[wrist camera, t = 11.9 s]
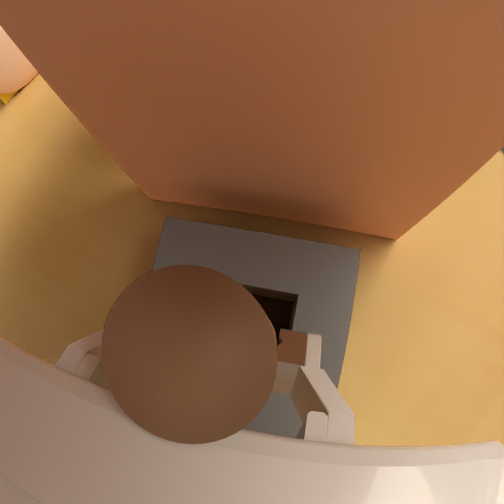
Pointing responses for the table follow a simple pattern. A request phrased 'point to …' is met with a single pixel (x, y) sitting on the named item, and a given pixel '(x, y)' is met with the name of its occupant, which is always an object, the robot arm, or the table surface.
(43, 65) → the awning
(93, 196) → the table surface
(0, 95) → the hamburger
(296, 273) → the socket
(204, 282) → the peg
